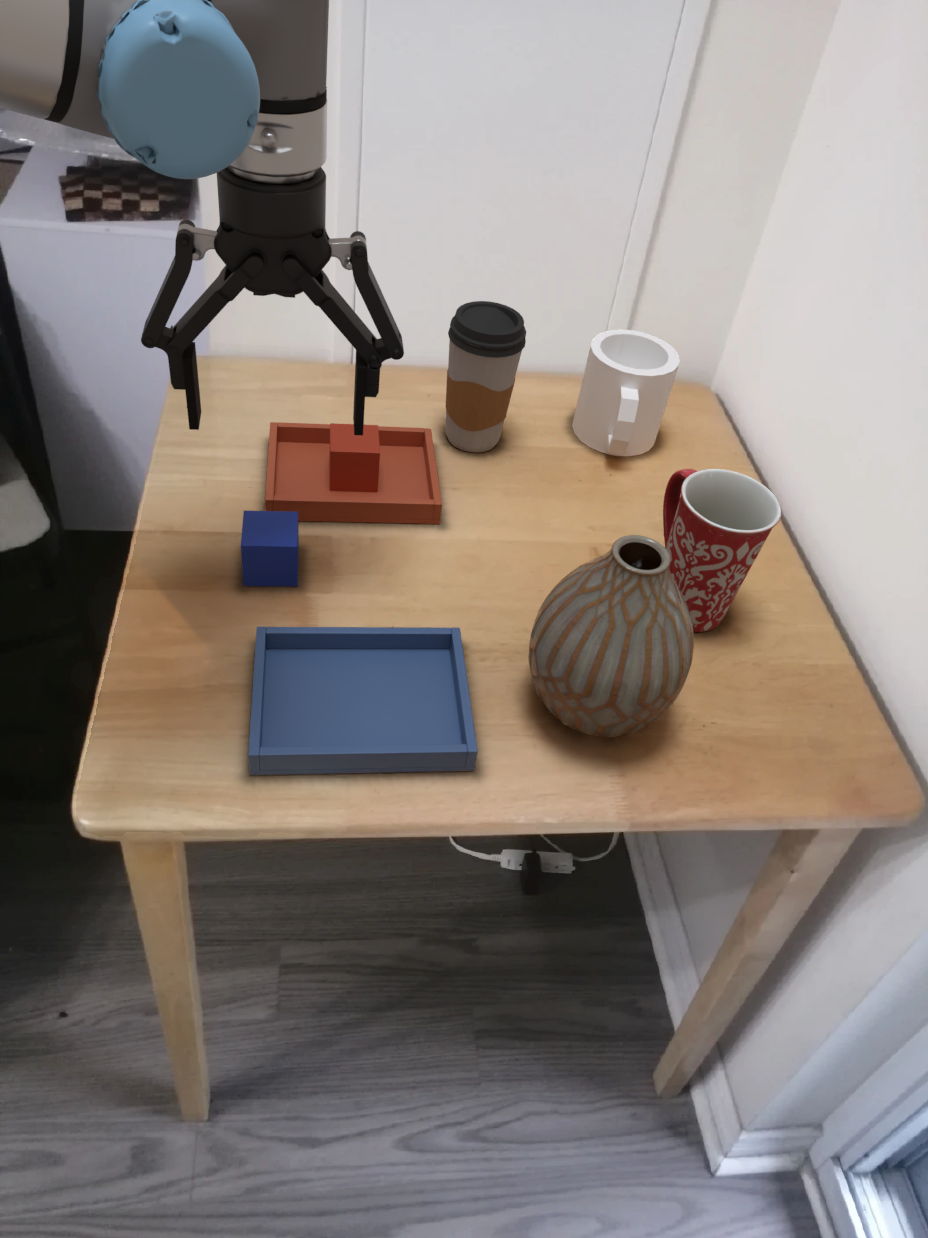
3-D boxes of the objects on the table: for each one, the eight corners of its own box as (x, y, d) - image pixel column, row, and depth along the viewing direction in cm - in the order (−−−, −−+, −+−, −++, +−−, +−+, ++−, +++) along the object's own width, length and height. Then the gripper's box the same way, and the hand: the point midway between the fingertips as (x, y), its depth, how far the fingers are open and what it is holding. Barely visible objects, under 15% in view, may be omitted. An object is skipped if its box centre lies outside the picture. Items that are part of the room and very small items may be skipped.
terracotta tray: (265, 520, 94) (265, 499, 92) (270, 441, 103) (270, 421, 102) (439, 524, 97) (442, 504, 95) (429, 447, 106) (431, 428, 104)
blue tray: (249, 775, 72) (248, 755, 71) (257, 647, 82) (256, 626, 80) (473, 771, 75) (478, 751, 73) (456, 647, 85) (459, 627, 83)
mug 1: (659, 478, 107) (686, 397, 100) (571, 465, 107) (591, 383, 100) (652, 414, 117) (676, 336, 109) (572, 402, 117) (590, 323, 109)
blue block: (243, 586, 87) (240, 545, 84) (246, 550, 90) (243, 510, 87) (297, 586, 88) (297, 546, 84) (298, 551, 91) (298, 511, 88)
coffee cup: (514, 428, 111) (536, 309, 101) (497, 466, 105) (519, 344, 95) (447, 410, 112) (462, 291, 102) (427, 447, 106) (440, 325, 96)
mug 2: (750, 633, 91) (801, 525, 81) (667, 646, 88) (711, 536, 79) (690, 548, 99) (731, 441, 89) (613, 558, 96) (646, 449, 87)
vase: (662, 661, 87) (720, 513, 74) (669, 776, 77) (737, 628, 65) (522, 639, 86) (557, 486, 74) (512, 752, 77) (550, 599, 65)
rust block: (329, 490, 98) (330, 451, 94) (329, 462, 101) (330, 422, 98) (377, 492, 98) (380, 452, 95) (375, 463, 102) (378, 424, 98)
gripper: (72, 168, 60) (118, 444, 75) (454, 198, 64) (426, 453, 79) (91, 128, 66) (130, 393, 80) (444, 158, 70) (419, 404, 85)
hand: (277, 423), depth 80 cm, fingers open, 13 cm apart
